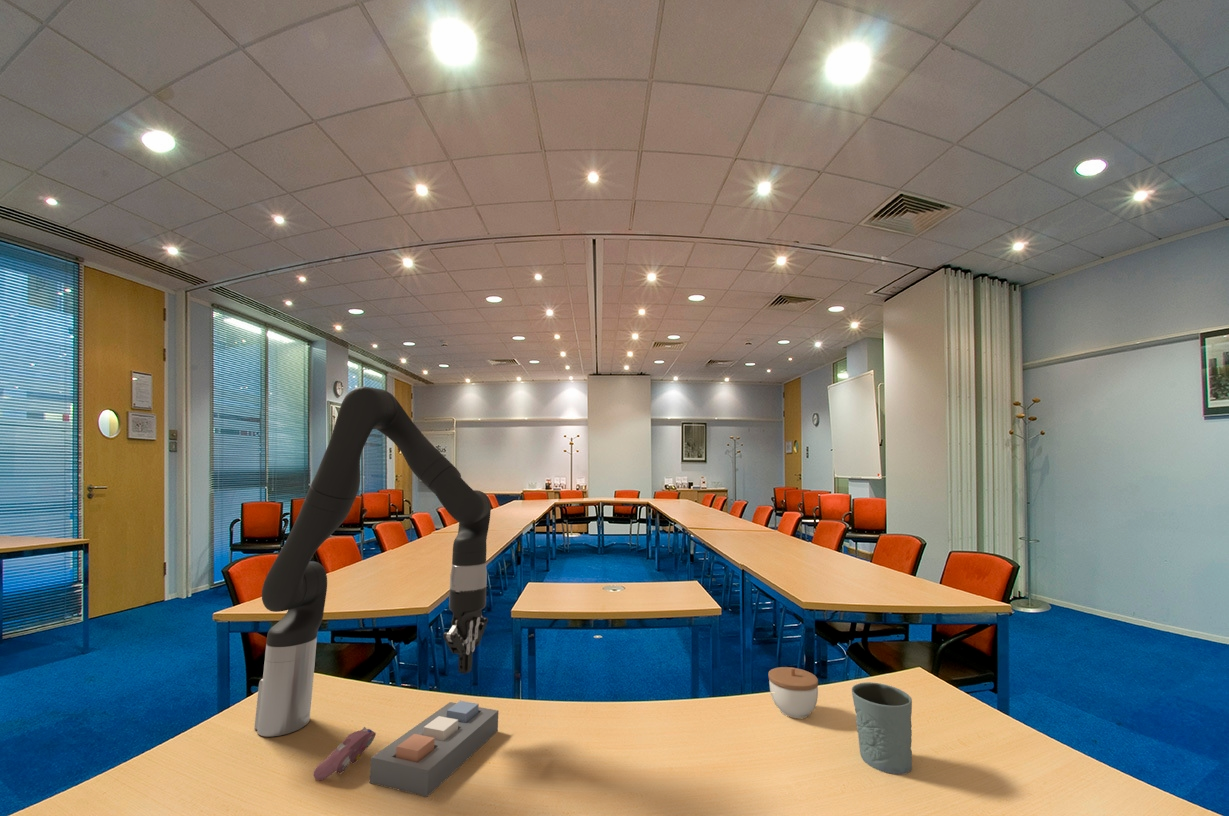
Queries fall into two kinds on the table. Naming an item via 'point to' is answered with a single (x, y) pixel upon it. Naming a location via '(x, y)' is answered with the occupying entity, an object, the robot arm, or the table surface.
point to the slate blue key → (463, 711)
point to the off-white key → (441, 728)
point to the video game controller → (345, 753)
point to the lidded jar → (793, 691)
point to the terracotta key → (415, 748)
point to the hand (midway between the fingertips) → (465, 671)
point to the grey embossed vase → (884, 726)
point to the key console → (433, 754)
